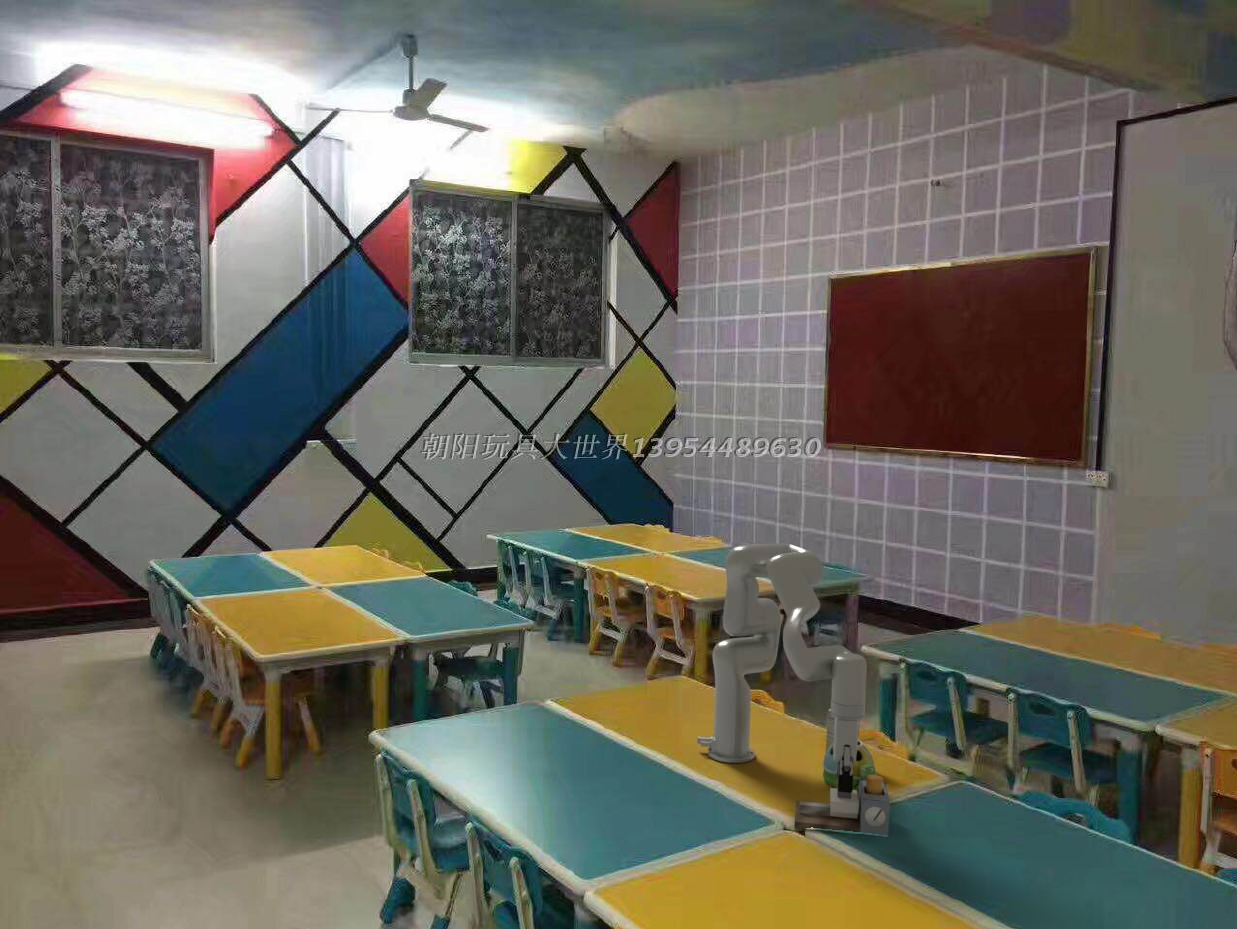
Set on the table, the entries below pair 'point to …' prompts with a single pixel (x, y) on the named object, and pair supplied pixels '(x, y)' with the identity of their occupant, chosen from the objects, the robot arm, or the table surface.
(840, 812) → the carriage
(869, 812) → the gauge cabinet
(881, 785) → the button
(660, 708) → the table surface
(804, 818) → the rail board
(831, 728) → the candy box
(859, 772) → the turtle holder
